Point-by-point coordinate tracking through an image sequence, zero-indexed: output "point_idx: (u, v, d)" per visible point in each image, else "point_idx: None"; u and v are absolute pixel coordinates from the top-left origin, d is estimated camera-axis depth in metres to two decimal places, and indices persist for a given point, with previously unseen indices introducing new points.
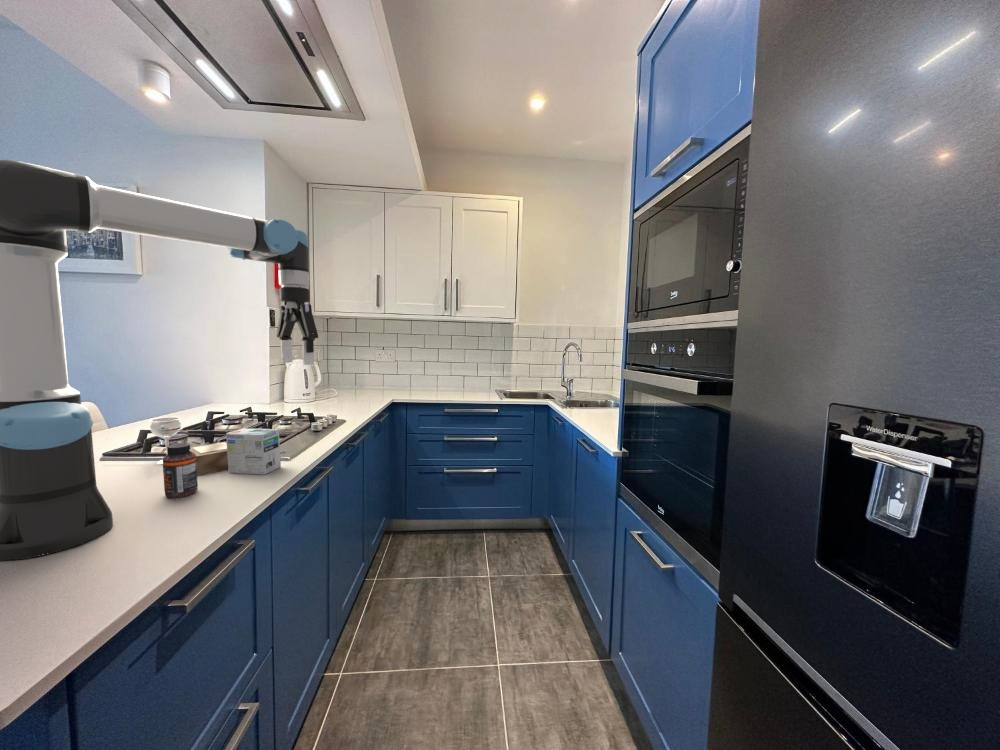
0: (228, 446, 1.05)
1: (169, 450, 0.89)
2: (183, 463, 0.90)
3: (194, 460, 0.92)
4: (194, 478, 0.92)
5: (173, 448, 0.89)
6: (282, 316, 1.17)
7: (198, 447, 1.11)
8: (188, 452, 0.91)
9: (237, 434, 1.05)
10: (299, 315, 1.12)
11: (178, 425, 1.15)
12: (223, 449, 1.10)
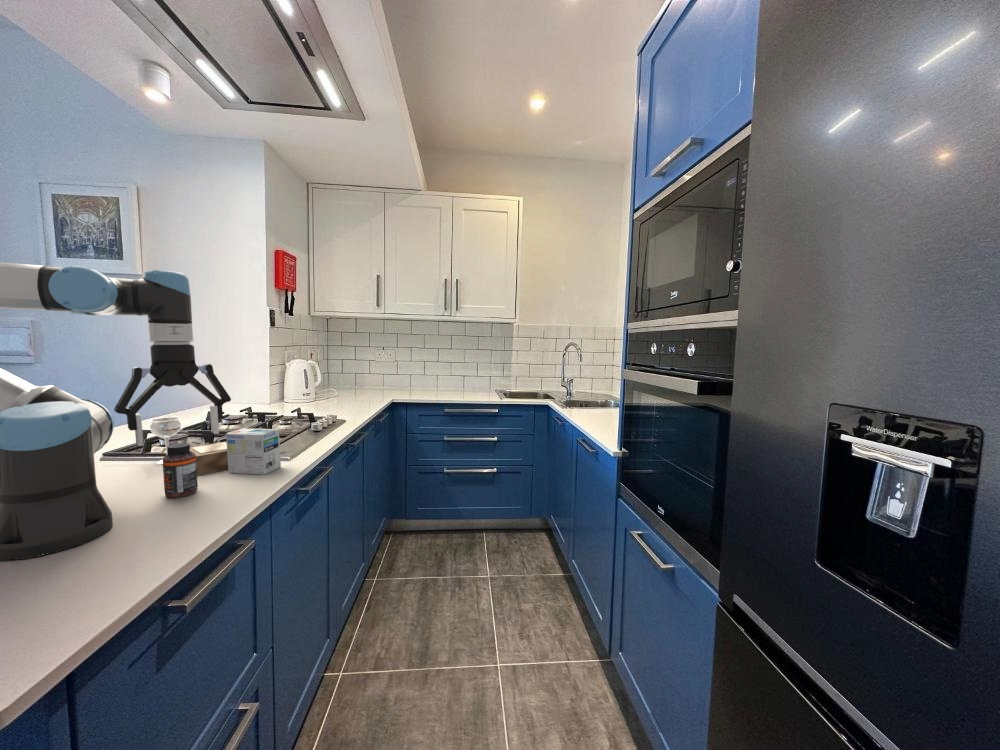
0: (228, 446, 1.05)
1: (169, 450, 0.89)
2: (183, 463, 0.90)
3: (194, 460, 0.92)
4: (194, 478, 0.92)
5: (173, 448, 0.89)
6: (207, 376, 0.95)
7: (198, 447, 1.11)
8: (188, 452, 0.91)
9: (237, 434, 1.05)
10: (157, 380, 0.88)
11: (178, 425, 1.15)
12: (223, 449, 1.10)
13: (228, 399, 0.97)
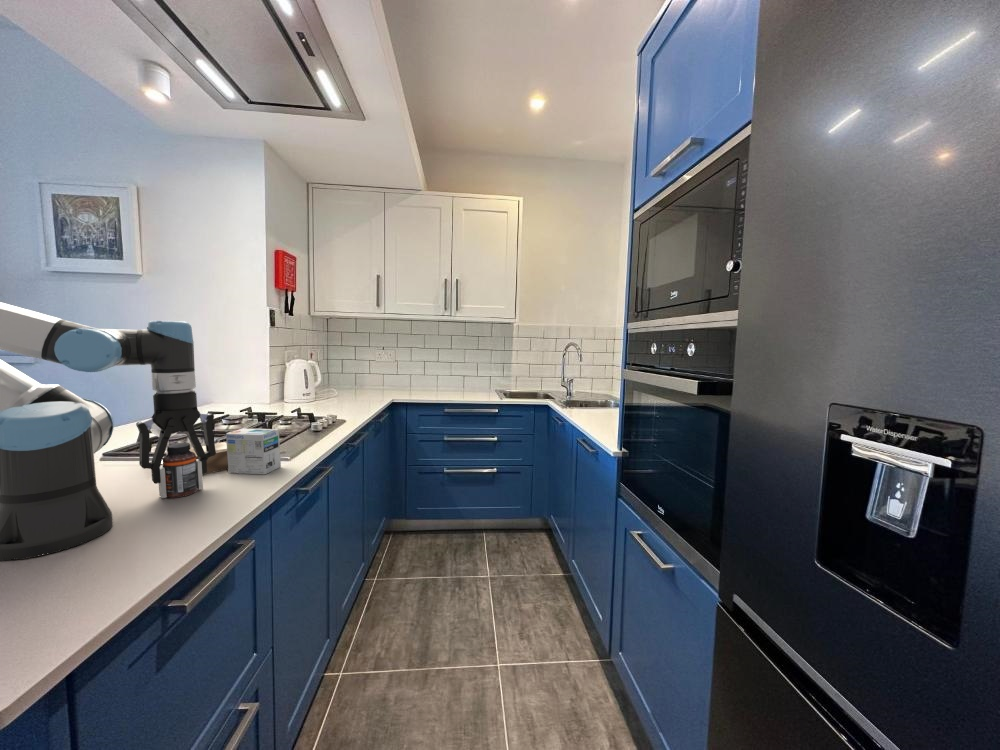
0: (228, 446, 1.05)
1: (169, 450, 0.89)
2: (183, 463, 0.90)
3: (194, 460, 0.92)
4: (194, 478, 0.92)
5: (173, 448, 0.89)
6: (203, 426, 0.95)
7: None
8: (188, 452, 0.91)
9: (237, 434, 1.05)
10: None
11: None
12: (223, 449, 1.10)
13: (213, 453, 0.95)
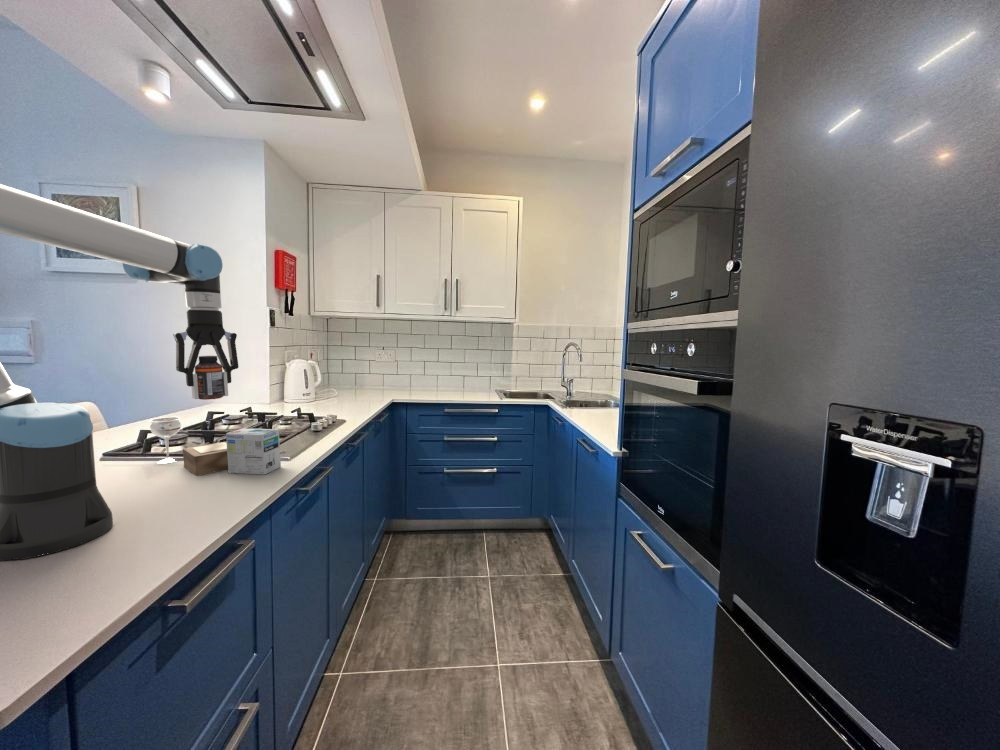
0: (228, 446, 1.05)
1: (200, 359, 1.06)
2: (212, 370, 1.06)
3: (221, 370, 1.09)
4: (221, 385, 1.09)
5: (204, 357, 1.06)
6: (228, 343, 1.12)
7: (198, 447, 1.11)
8: (216, 362, 1.08)
9: (237, 434, 1.05)
10: None
11: (178, 425, 1.15)
12: (223, 449, 1.10)
13: (236, 366, 1.12)
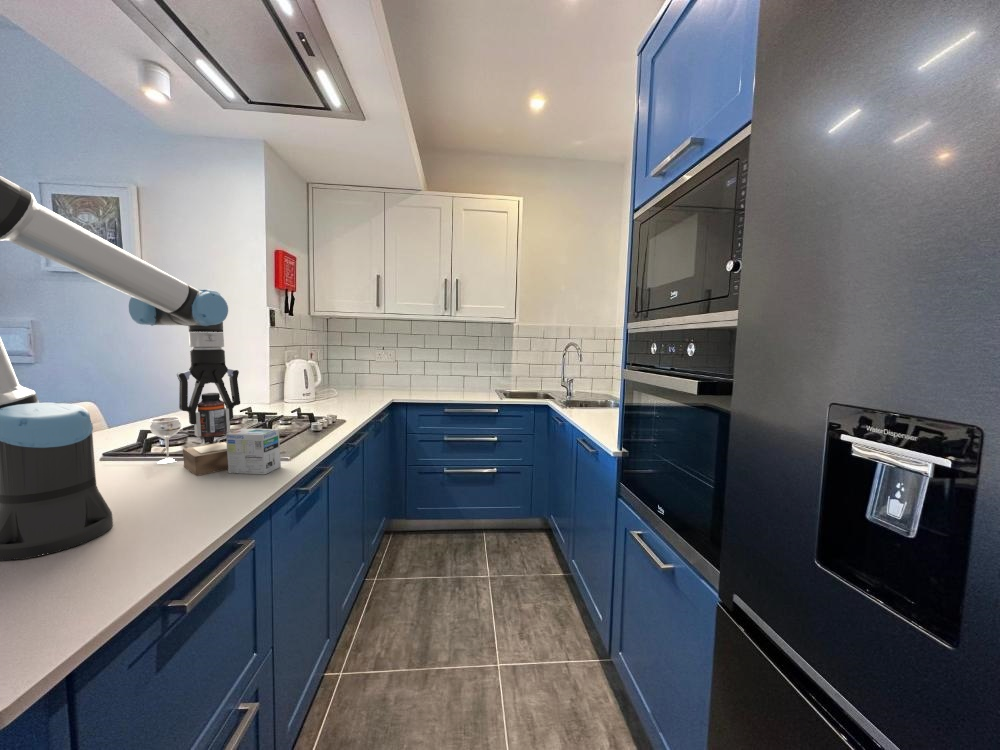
0: (228, 446, 1.05)
1: (203, 397, 1.08)
2: (214, 408, 1.08)
3: (223, 407, 1.10)
4: (223, 422, 1.11)
5: (206, 395, 1.08)
6: (230, 380, 1.14)
7: (198, 447, 1.11)
8: (218, 400, 1.10)
9: (237, 434, 1.05)
10: None
11: (178, 425, 1.15)
12: (223, 449, 1.10)
13: (238, 403, 1.14)
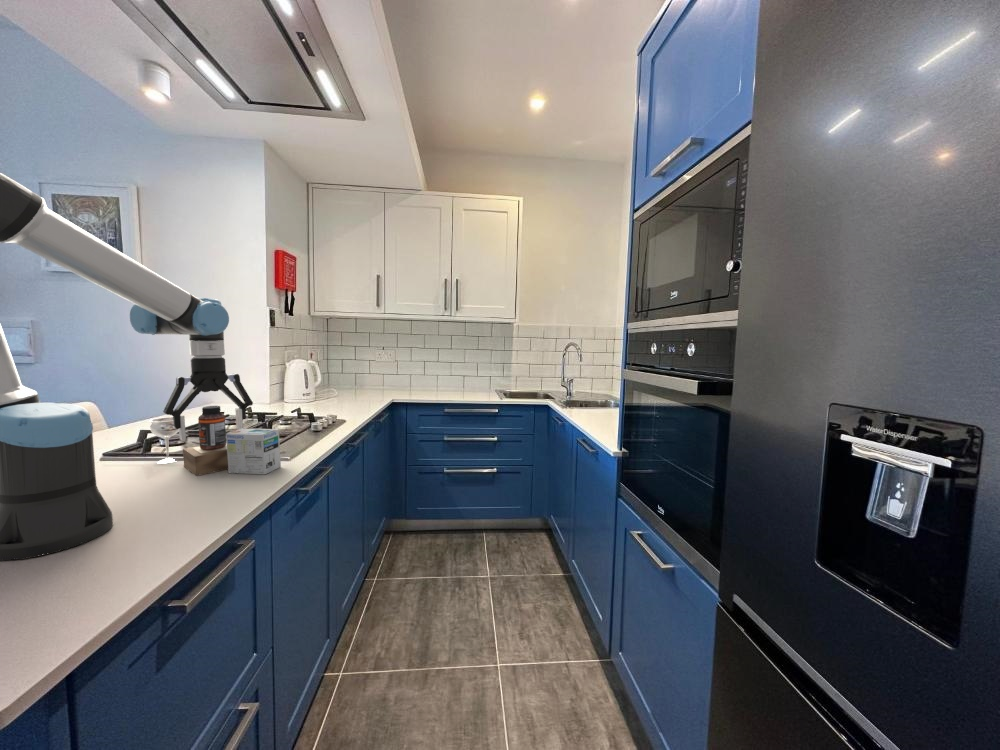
0: (228, 446, 1.05)
1: (204, 410, 1.08)
2: (215, 421, 1.08)
3: (224, 420, 1.11)
4: (224, 435, 1.11)
5: (207, 408, 1.08)
6: (234, 384, 1.15)
7: (198, 447, 1.11)
8: (219, 413, 1.10)
9: (237, 434, 1.05)
10: (196, 387, 1.07)
11: None
12: (223, 449, 1.10)
13: (250, 403, 1.16)
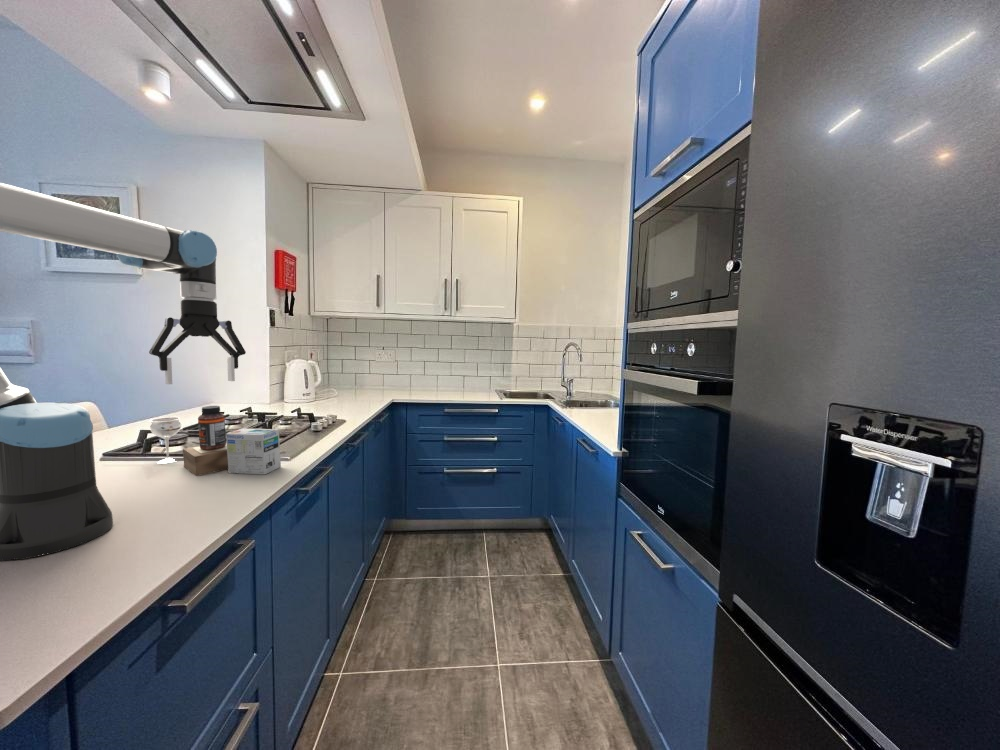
0: (228, 446, 1.05)
1: (203, 410, 1.08)
2: (215, 421, 1.08)
3: (223, 420, 1.11)
4: (224, 435, 1.11)
5: (207, 409, 1.08)
6: (226, 332, 1.11)
7: (198, 447, 1.11)
8: (219, 413, 1.10)
9: (237, 434, 1.05)
10: (185, 330, 1.03)
11: (178, 425, 1.15)
12: (223, 449, 1.10)
13: (243, 352, 1.12)
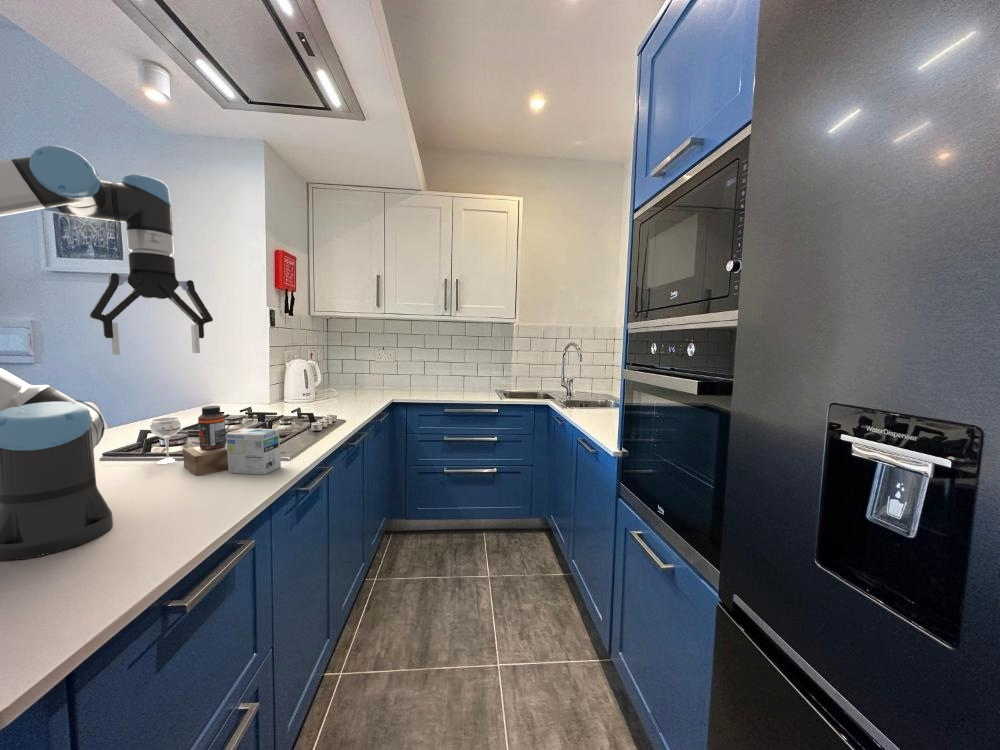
0: (228, 446, 1.05)
1: (203, 410, 1.08)
2: (215, 421, 1.08)
3: (223, 420, 1.11)
4: (224, 435, 1.11)
5: (207, 409, 1.08)
6: (188, 294, 0.93)
7: (198, 447, 1.11)
8: (219, 413, 1.10)
9: (237, 434, 1.05)
10: (136, 290, 0.86)
11: (178, 425, 1.15)
12: (223, 449, 1.10)
13: (210, 319, 0.95)
